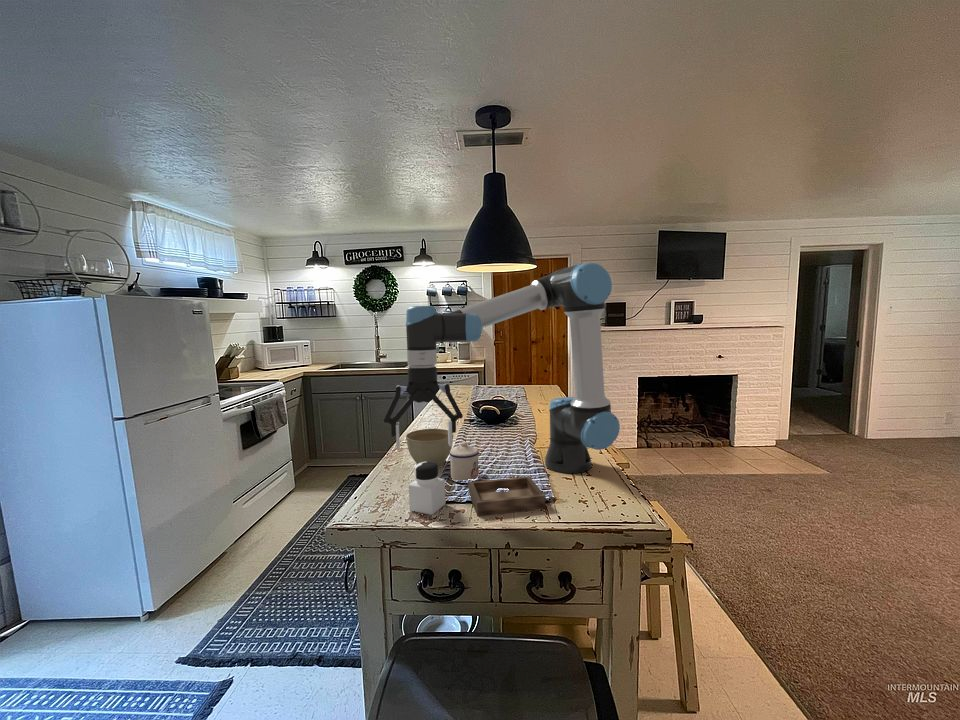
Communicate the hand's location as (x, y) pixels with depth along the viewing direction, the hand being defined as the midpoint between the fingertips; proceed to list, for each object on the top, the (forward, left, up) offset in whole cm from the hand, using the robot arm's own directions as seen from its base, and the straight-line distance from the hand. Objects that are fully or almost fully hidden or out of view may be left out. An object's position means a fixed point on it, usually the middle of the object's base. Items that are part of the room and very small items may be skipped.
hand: (424, 446), depth 110 cm
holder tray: (-21, +1, -17) cm, 27 cm away
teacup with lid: (-13, -19, -17) cm, 29 cm away
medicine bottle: (0, 0, -17) cm, 17 cm away
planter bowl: (-3, -33, -17) cm, 37 cm away
